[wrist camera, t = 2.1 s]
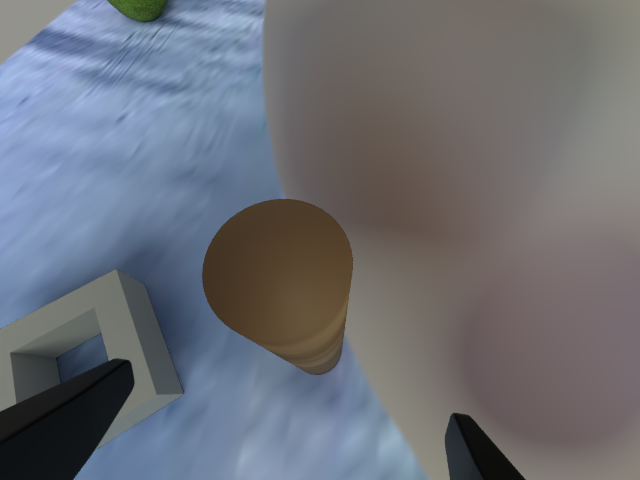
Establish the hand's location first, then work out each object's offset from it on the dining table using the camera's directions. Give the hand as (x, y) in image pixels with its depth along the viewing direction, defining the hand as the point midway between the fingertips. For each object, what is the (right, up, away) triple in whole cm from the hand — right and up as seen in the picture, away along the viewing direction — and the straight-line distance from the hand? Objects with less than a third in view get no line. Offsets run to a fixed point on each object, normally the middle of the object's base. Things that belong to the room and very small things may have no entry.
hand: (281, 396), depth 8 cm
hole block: (-12, -4, +10) cm, 17 cm away
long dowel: (+1, -2, +10) cm, 11 cm away
